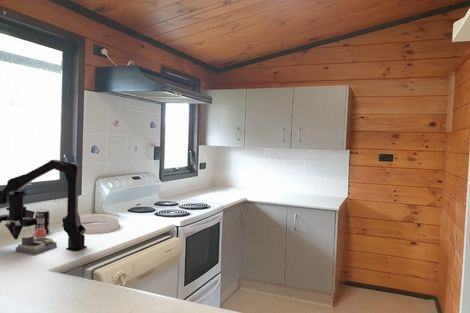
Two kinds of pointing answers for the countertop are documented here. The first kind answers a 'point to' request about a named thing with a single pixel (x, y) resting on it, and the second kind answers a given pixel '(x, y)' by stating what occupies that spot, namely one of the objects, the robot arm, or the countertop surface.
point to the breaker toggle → (28, 240)
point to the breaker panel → (37, 246)
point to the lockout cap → (40, 233)
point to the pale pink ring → (99, 228)
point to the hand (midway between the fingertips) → (15, 239)
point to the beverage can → (42, 219)
